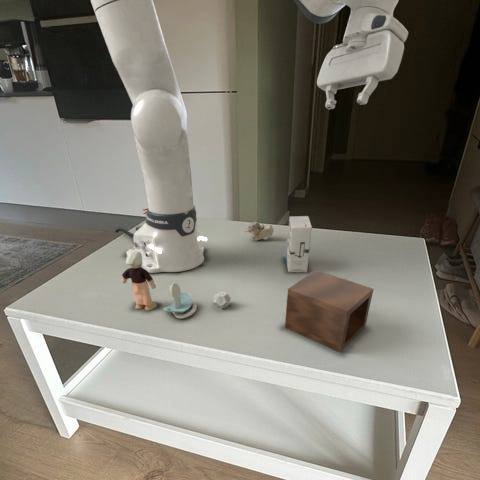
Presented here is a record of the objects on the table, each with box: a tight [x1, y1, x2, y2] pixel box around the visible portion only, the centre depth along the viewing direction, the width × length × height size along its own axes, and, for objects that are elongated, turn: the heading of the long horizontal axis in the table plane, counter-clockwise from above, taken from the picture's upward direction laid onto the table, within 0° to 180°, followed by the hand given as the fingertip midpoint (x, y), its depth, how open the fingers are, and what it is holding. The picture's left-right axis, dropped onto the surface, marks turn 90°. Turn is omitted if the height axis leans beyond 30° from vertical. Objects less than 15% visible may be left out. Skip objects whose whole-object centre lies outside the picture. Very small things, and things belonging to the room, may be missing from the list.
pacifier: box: [162, 283, 198, 319], centre depth 75 cm, size 7×6×6 cm
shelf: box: [284, 269, 375, 354], centre depth 69 cm, size 12×10×9 cm
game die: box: [213, 290, 231, 310], centre depth 78 cm, size 4×4×3 cm
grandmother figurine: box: [121, 250, 157, 311], centre depth 75 cm, size 8×4×13 cm, turn 84°
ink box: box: [285, 215, 313, 273], centre depth 91 cm, size 9×5×12 cm, turn 178°
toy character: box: [244, 221, 274, 241], centre depth 109 cm, size 4×8×6 cm, turn 79°
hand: (344, 105), depth 81 cm, fingers open, 8 cm apart
